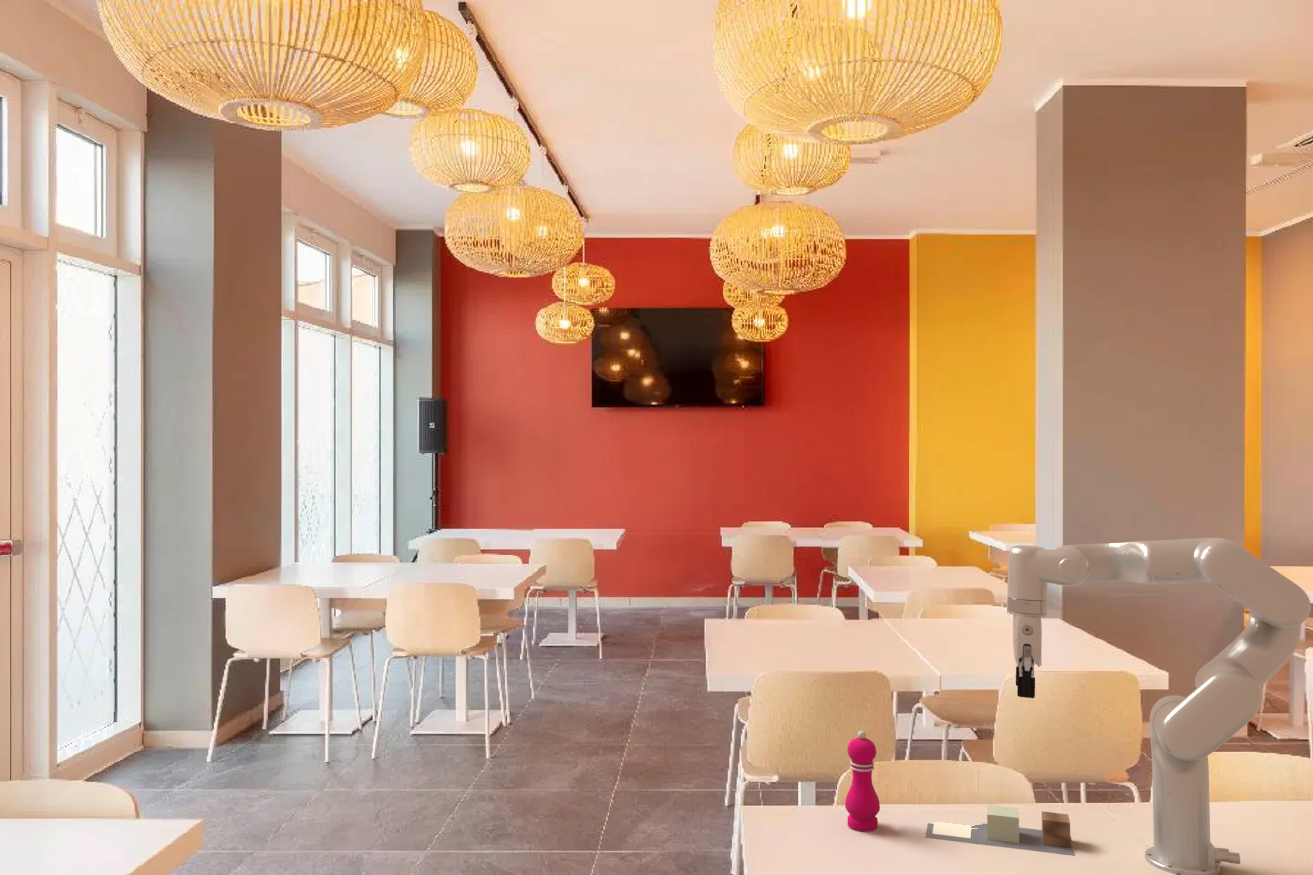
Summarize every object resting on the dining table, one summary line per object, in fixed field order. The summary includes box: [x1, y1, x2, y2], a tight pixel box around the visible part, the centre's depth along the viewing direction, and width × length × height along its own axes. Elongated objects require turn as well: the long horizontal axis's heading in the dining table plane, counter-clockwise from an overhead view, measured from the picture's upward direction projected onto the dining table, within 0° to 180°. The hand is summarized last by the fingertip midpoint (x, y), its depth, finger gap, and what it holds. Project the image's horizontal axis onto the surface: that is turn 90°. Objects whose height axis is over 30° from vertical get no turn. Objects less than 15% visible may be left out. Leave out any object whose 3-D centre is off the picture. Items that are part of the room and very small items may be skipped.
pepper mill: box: [844, 730, 881, 833], centre depth 200 cm, size 7×7×20 cm
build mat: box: [925, 822, 1076, 857], centre depth 194 cm, size 28×12×1 cm, turn 71°
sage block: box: [986, 804, 1020, 843], centre depth 193 cm, size 6×6×5 cm
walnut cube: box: [1041, 810, 1071, 848], centre depth 190 cm, size 5×5×5 cm
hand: (1024, 691), depth 191 cm, fingers open, 9 cm apart
